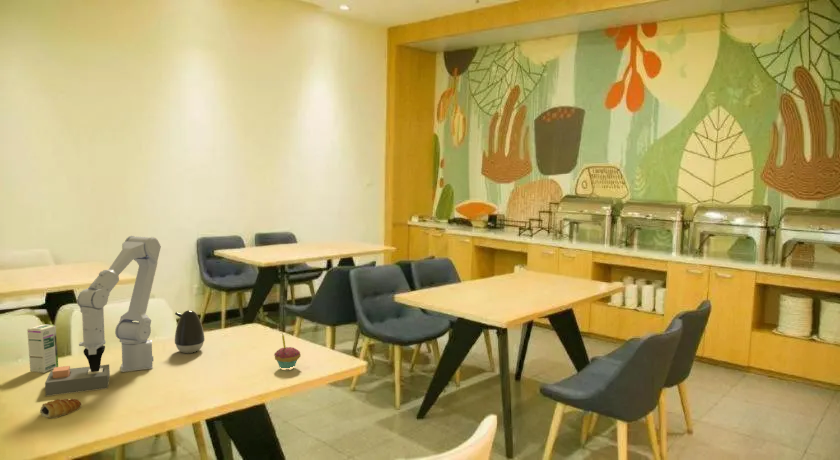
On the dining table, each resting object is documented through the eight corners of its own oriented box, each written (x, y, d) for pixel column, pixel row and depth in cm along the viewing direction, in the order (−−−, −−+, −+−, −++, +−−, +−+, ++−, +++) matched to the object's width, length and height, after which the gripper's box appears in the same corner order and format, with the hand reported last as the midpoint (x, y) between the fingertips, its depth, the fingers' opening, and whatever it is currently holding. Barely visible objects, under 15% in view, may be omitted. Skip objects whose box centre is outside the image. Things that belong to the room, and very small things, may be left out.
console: (109, 376, 188) (109, 364, 187) (107, 388, 178) (107, 375, 178) (51, 383, 181) (50, 370, 181) (45, 396, 171) (45, 382, 171)
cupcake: (269, 370, 196) (269, 335, 195) (284, 362, 204) (284, 329, 203) (291, 374, 193) (290, 338, 192) (305, 366, 201) (305, 332, 199)
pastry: (73, 404, 166) (72, 391, 166) (86, 409, 163) (86, 396, 163) (37, 415, 159) (37, 401, 158) (50, 421, 155) (50, 407, 155)
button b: (70, 376, 180) (69, 365, 180) (68, 381, 176) (68, 369, 176) (55, 378, 178) (54, 367, 178) (53, 383, 175) (52, 371, 174)
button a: (103, 378, 184) (103, 367, 184) (102, 382, 180) (102, 371, 180) (89, 380, 182) (88, 369, 182) (87, 384, 179) (87, 373, 178)
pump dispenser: (183, 346, 221) (182, 306, 219) (209, 347, 219) (209, 307, 218) (168, 354, 211) (167, 313, 209) (195, 356, 209) (194, 314, 208)
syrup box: (44, 373, 190) (42, 329, 189) (29, 371, 191) (26, 328, 190) (58, 367, 196) (56, 324, 194) (43, 365, 197) (41, 323, 195)
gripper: (81, 323, 185) (82, 365, 186) (75, 335, 171) (77, 380, 173) (106, 321, 187) (108, 362, 189) (103, 332, 174) (105, 377, 176)
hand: (95, 370), depth 181 cm, fingers closed, pressing on button a
